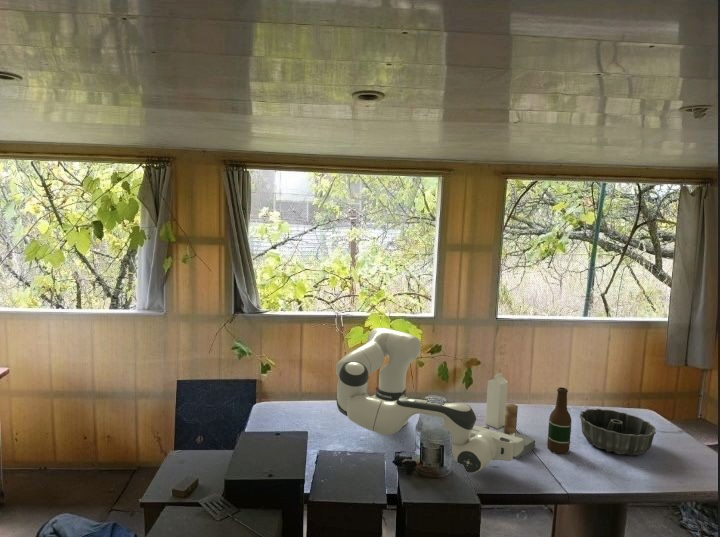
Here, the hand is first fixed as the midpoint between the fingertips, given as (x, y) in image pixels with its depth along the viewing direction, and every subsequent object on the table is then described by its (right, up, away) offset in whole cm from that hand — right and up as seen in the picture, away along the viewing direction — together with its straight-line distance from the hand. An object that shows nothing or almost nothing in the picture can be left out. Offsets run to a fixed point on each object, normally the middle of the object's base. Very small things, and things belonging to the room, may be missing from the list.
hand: (500, 431), depth 171 cm
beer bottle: (+24, -10, +9) cm, 28 cm away
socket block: (+6, -9, +11) cm, 16 cm away
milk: (+7, -8, +31) cm, 32 cm away
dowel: (+6, -9, +11) cm, 16 cm away
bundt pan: (+49, -11, +15) cm, 53 cm away
